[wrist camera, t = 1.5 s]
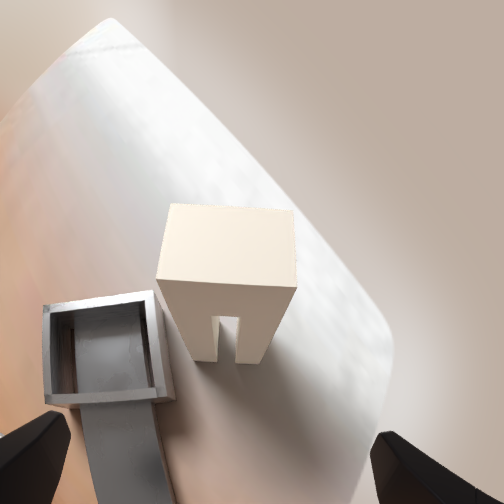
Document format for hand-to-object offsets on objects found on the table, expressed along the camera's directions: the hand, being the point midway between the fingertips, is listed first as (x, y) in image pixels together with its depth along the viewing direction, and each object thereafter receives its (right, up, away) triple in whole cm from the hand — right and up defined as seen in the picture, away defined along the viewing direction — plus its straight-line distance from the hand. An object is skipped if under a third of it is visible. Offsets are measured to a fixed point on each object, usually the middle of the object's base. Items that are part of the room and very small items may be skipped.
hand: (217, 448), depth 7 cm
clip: (-1, -1, +14) cm, 14 cm away
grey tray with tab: (-8, -6, +11) cm, 14 cm away
